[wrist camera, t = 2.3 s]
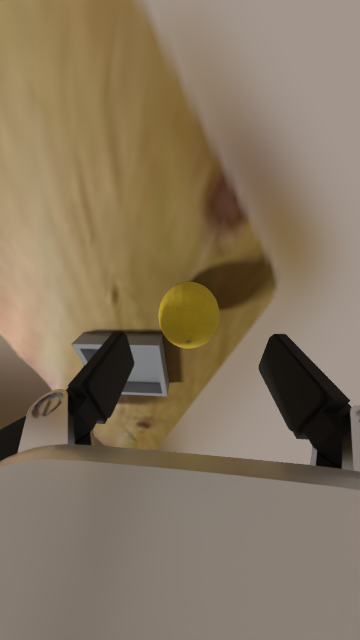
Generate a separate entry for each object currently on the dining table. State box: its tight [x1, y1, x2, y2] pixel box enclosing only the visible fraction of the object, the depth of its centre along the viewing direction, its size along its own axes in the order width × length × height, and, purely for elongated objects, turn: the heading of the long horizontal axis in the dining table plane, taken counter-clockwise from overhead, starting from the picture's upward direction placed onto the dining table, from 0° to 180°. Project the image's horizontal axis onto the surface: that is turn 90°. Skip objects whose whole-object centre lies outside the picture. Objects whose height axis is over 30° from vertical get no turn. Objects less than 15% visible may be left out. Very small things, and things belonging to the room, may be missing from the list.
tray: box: [72, 333, 169, 396], centre depth 22 cm, size 12×12×2 cm
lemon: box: [159, 282, 219, 349], centre depth 13 cm, size 6×6×8 cm
